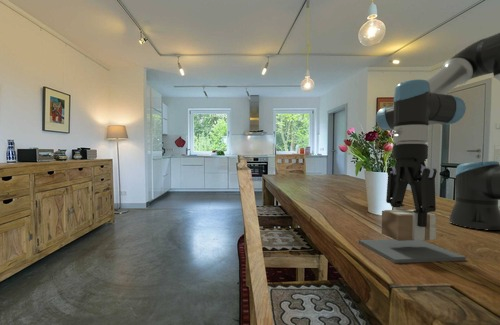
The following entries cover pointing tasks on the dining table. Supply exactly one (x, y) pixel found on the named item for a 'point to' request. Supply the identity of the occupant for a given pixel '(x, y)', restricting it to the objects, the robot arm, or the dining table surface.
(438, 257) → the mat
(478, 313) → the dining table surface
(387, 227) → the block
